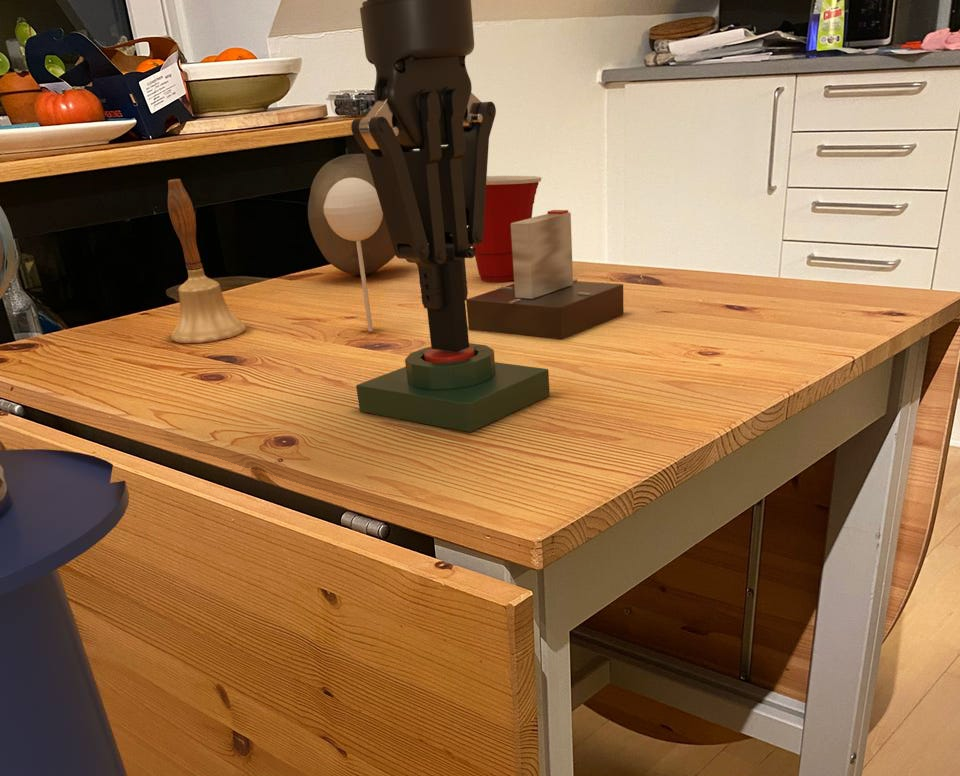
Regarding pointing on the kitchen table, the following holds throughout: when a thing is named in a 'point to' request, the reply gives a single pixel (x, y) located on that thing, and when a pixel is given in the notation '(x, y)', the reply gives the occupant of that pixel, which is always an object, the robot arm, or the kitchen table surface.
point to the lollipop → (354, 218)
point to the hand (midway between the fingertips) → (450, 347)
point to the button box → (454, 390)
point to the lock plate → (546, 310)
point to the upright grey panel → (542, 254)
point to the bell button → (448, 355)
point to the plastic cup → (503, 223)
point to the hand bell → (197, 282)
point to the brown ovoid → (330, 244)
